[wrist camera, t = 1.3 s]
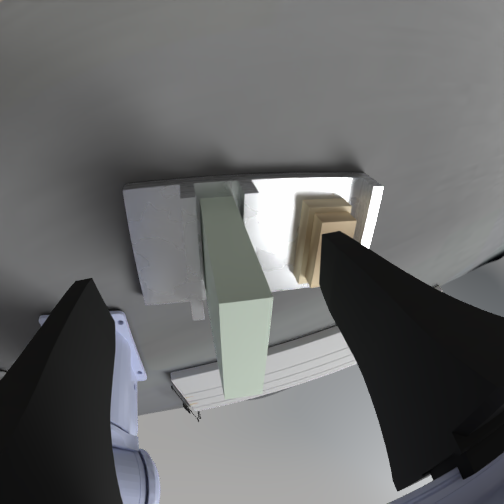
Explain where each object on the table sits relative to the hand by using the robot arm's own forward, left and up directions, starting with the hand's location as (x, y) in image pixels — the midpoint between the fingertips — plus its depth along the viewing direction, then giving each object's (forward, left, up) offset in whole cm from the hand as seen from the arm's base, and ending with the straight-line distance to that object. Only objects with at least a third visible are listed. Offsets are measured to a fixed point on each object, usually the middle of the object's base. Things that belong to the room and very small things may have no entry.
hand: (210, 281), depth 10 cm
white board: (-22, -12, -12) cm, 27 cm away
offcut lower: (-5, -8, -10) cm, 14 cm away
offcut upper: (-5, -8, -9) cm, 13 cm away
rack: (-5, -4, -11) cm, 13 cm away
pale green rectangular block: (-5, -1, -10) cm, 11 cm away
